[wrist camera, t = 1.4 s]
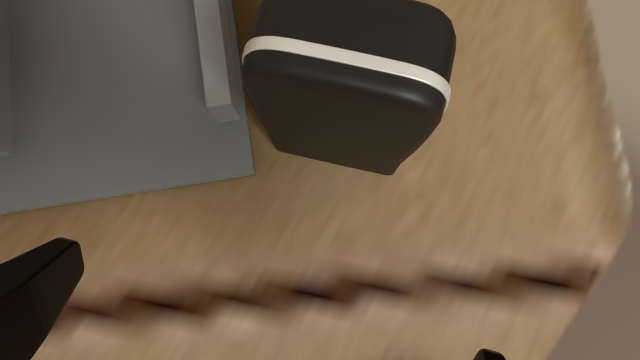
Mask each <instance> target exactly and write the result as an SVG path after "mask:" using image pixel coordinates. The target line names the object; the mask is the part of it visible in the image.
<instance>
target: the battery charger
mask: <svg viewBox="0 0 640 360" xmlns="http://www.w3.org/2000/svg"><path fill="white" fill-rule="evenodd" d="M455 50H456V35H455V31H454V28H453V25H452V22H451V20H450V19H449V18H448V17H447V16H446V15H445V14H444V13H443V12H442V11H441V10H440V9H438V8H436V7H434V6H432V5H429V4H426V3H422V2H419V1H415V0H262V1H261V3H260V6H259V8H258V11H257V14H256V18H255V22H254V25H253V29H252V33H251V36H250V40H249V41H248V42H247V43H246V45H245V47H244V51H243V55H242V80H243V84H244V86H245V89H246V91H247V94H248V96H249V98H250V101H251V103H252V105H253V107H254V109H255V111H256V113H257V114H258V116H259V118H260V119H261V121H262V123H263V124H264V126H265V128H266V129H267V131H268V132H269V134H270V136H271V138H272V140H273V142H274V145H275V148H276V149H277V150H278V151H281V152H285V153H290V154H294V155H298V156H303V157H307V158H311V159H316V160H320V161H325V162H329V163H333V164H338V165H342V166H347V167H352V168H356V169H361V170H365V171H370V172H374V173H379V174H384V175H392V174H394V172H395V171H396V169H397V168H398V167H399V165H400V164H401V163H402V162H403V161H404V160H406V159H407V158H408V157H409V156H410V155H411V154H413V153H414V152H415V151H416V150H417V149H418V148H419V147H420V146H421V145H422V144H423V143H424V142H425V141H426V140H427V139H428V137H429V136H430V135H431V134H432V132H433V131H434V130H435V128H436V127H437V126H438V124H439V123H440V121H441V118H442V115H443V113H444V112H445V110H446V108H447V106H448V102H449V97H450V92H451V90H450V86H449V82H450V77H451V71H452V66H453V61H454V56H455Z"/></svg>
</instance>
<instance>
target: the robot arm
mask: <svg viewBox="0 0 640 360" xmlns="http://www.w3.org/2000/svg"><path fill="white" fill-rule="evenodd" d="M83 272H84V262H83V257H82V252H81V248H80V244H79V243H78V242H77V241H74V240H70V239H67V238H56V239H54V240H51V241H49V242H47V243H45V244H43V245H41V246H39V247H36V248H34V249H32V250H30V251H28V252H26V253H24V254H22V255H19V256H17V257H15V258H13V259H11V260H9V261H7V262H4V263H2V264H0V360H31V358H32V357H33V356H34V354H35V353H36V351H37V350H38V349H39V347H40V346H41V344H42V343H43V341H44V340H45V339H46V337H47V335H48V334H49V332H50V331H51V329H52V327H53V326H54V324H55V322H56V320H57V319H58V317H59V315H60V314H61V312H62V310H63V308H64V307H65V305H66V303H67V301H68V300H69V298H70V296H71V295H72V293H73V291H74V289H75V288H76V286H77V284H78V282H79V281H80V279H81V277H82V275H83ZM473 360H506V359H505V358H504V356H503V355H502V354H501V353H499V352H496V351H492V350H488V349H481V350H480V351H479V352H478V353H477V355H476V356H475V358H474V359H473Z"/></svg>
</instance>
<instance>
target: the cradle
mask: <svg viewBox="0 0 640 360" xmlns="http://www.w3.org/2000/svg"><path fill="white" fill-rule="evenodd" d="M252 175H256V173H255V166H254V159H253V151H252V144H251V136H250V129H249V122H248V114H247V107H246V100H245V92H244V85H243V80H242V70H241V63H240V56H239V48H238V41H237V34H236V26H235V19H234V11H233V4H232V0H0V215H5V214H11V213H17V212H24V211H30V210H36V209H43V208H49V207H55V206H62V205H68V204H74V203H81V202H87V201H94V200H100V199H106V198H113V197H119V196H125V195H132V194H138V193H144V192H151V191H157V190H163V189H170V188H176V187H183V186H189V185H195V184H202V183H208V182H214V181H221V180H227V179H233V178H240V177H246V176H252Z"/></svg>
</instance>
